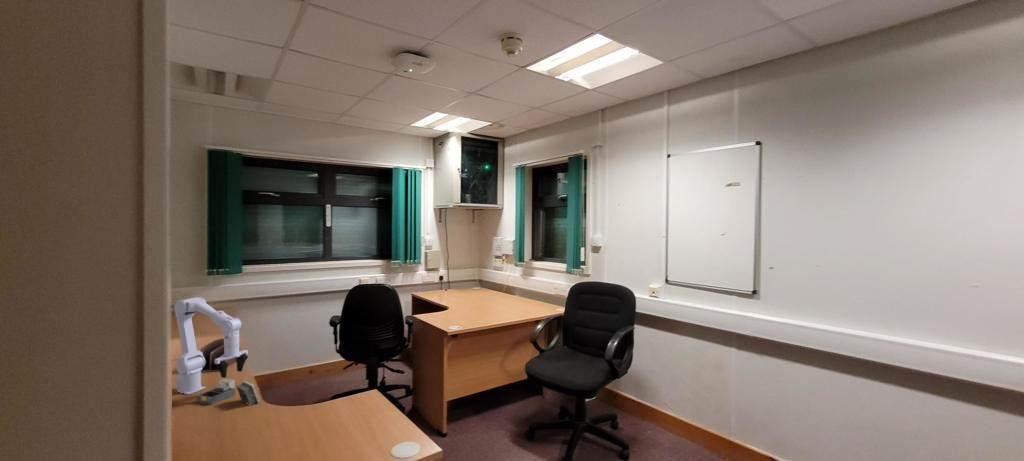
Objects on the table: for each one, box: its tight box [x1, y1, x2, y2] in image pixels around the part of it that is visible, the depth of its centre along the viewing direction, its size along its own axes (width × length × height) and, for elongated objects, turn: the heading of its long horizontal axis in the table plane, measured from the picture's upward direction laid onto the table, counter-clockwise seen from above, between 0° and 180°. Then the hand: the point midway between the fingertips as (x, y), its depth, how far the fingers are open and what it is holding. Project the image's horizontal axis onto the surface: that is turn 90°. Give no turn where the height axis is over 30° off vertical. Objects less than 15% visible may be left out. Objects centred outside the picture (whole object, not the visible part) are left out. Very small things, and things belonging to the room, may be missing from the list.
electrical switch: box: [236, 380, 260, 406], centre depth 176 cm, size 9×5×9 cm, turn 57°
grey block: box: [218, 377, 236, 388], centre depth 189 cm, size 6×3×5 cm, turn 73°
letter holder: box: [200, 337, 241, 373], centre depth 222 cm, size 10×20×14 cm, turn 6°
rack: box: [196, 384, 236, 406], centre depth 180 cm, size 9×11×4 cm
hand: (231, 374), depth 184 cm, fingers open, 7 cm apart
